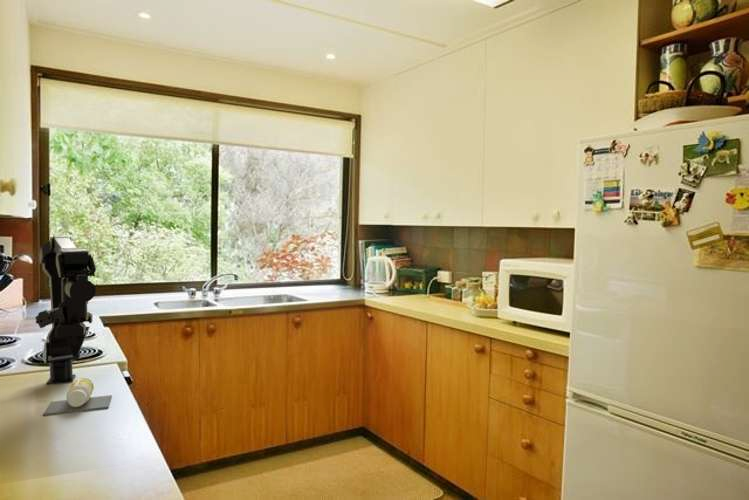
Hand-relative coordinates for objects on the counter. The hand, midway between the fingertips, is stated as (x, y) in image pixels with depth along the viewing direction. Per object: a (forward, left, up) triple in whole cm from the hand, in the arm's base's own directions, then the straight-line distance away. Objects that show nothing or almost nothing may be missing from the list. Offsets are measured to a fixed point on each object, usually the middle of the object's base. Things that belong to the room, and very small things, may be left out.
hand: (75, 356), depth 133 cm
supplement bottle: (0, +1, -9) cm, 9 cm away
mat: (+6, +1, -12) cm, 13 cm away
